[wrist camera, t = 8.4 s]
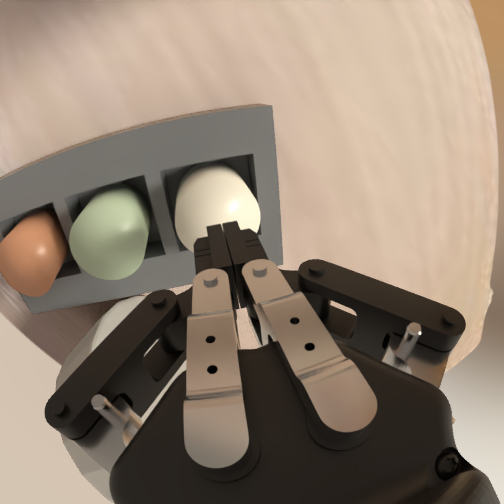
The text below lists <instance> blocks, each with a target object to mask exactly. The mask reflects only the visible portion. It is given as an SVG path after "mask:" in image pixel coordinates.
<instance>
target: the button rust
mask: <svg viewBox="0 0 504 504" xmlns="http://www.w3.org/2000/svg"><path fill="white" fill-rule="evenodd" d="M69 251H70V246H69V243H68V241H67V239H66V236H65V234H64V231H63V229H62V226H61V224H60V221H59V218H58V216H57V213H55V212H54V211H52V210H49V209H46V208H37V209H34V210H32V211H30V212H29V213H28V214H27V215H26V216H25V217H24V218H23V219H22V220H21V221H20V222H19V223H18V224H17V225H16V226H15V227H14V229H13V230H12V231H11V232H10V233H9V234H8V235H7V236H6V237H5V238H4V240H3V241H2V242H1V243H0V271H1V274H2V275H3V277H4V279H5V280H6V281H7V282H8V284H9V285H10V286H11V287H12V288H14V289H15V290H16V291H18V292H20V293H21V294H24V295H26V296H31V297H38V296H42V295H44V294H45V293H47V292H48V291H49V289H50V288H51V286H52V284H53V282H54V280H55V278H56V276H57V274H58V272H59V270H60V268H61V266H62V264H63V263H64V261H65V259H66V257H67V255H68V254H69Z"/></svg>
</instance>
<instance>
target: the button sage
mask: <svg viewBox="0 0 504 504" xmlns="http://www.w3.org/2000/svg"><path fill="white" fill-rule="evenodd" d="M151 219H152V213H151V208H150V205H149V203H148V201H147V199H146V198H145V196H144V195H143V194H142V193H141V192H140V191H139V190H137V189H136V188H134V187H132V186H130V185H126V184H119V183H117V184H110V185H107V186H105V187H103V188H101V189H100V190H99V191H98V192H97V193H96V194H95V195H94V196H93V198H92V199H91V200H90V202H89V203H88V204H87V206H86V207H85V208H84V210H83V211H82V212H81V214H80V215H79V216H78V218H77V219H76V221H75V222H74V224H73V226H72V228H71V231H70V236H69V244H70V249H71V252H72V255H73V257H74V259H75V260H76V262H77V263H78V264H79V266H80V267H81V268H82V269H83V270H85V271H86V272H87V273H89V274H91V275H92V276H95V277H97V278H100V279H104V280H119V279H123V278H125V277H128V276H130V275H131V274H133V273H134V272H135V271H136V270H137V269H138V268H139V267H140V265H141V263H142V261H143V259H144V255H145V250H146V244H147V239H148V234H149V229H150V225H151Z"/></svg>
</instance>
